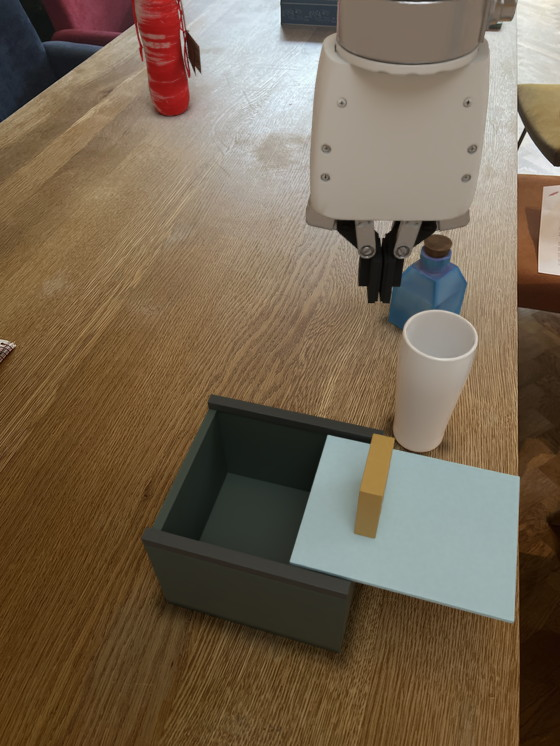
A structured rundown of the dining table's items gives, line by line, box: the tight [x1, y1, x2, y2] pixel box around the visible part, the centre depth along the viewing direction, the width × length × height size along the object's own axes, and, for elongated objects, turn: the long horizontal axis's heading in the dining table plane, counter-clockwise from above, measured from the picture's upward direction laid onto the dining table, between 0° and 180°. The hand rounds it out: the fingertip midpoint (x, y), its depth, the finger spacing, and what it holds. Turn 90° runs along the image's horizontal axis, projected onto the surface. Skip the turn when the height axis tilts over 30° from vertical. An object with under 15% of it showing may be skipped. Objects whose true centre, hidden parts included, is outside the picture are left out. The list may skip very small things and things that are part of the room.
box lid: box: [290, 434, 521, 624], centre depth 44 cm, size 16×12×6 cm
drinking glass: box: [392, 310, 479, 453], centre depth 60 cm, size 7×7×15 cm
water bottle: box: [130, 0, 202, 117], centre depth 111 cm, size 12×8×25 cm, turn 82°
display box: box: [140, 393, 385, 654], centre depth 53 cm, size 16×15×12 cm
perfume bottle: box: [387, 233, 468, 331], centre depth 73 cm, size 6×6×12 cm
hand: (377, 291), depth 45 cm, fingers closed
